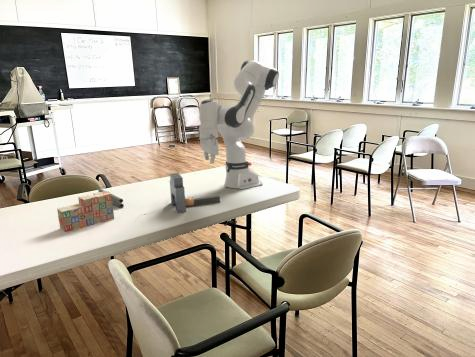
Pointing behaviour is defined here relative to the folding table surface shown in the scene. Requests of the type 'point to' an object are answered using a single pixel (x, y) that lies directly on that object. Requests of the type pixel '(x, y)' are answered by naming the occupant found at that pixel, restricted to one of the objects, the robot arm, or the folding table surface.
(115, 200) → the metal rod assembly
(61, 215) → the stack of blocks
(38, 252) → the folding table surface
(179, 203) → the grey notched block
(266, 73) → the robot arm
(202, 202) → the plug
